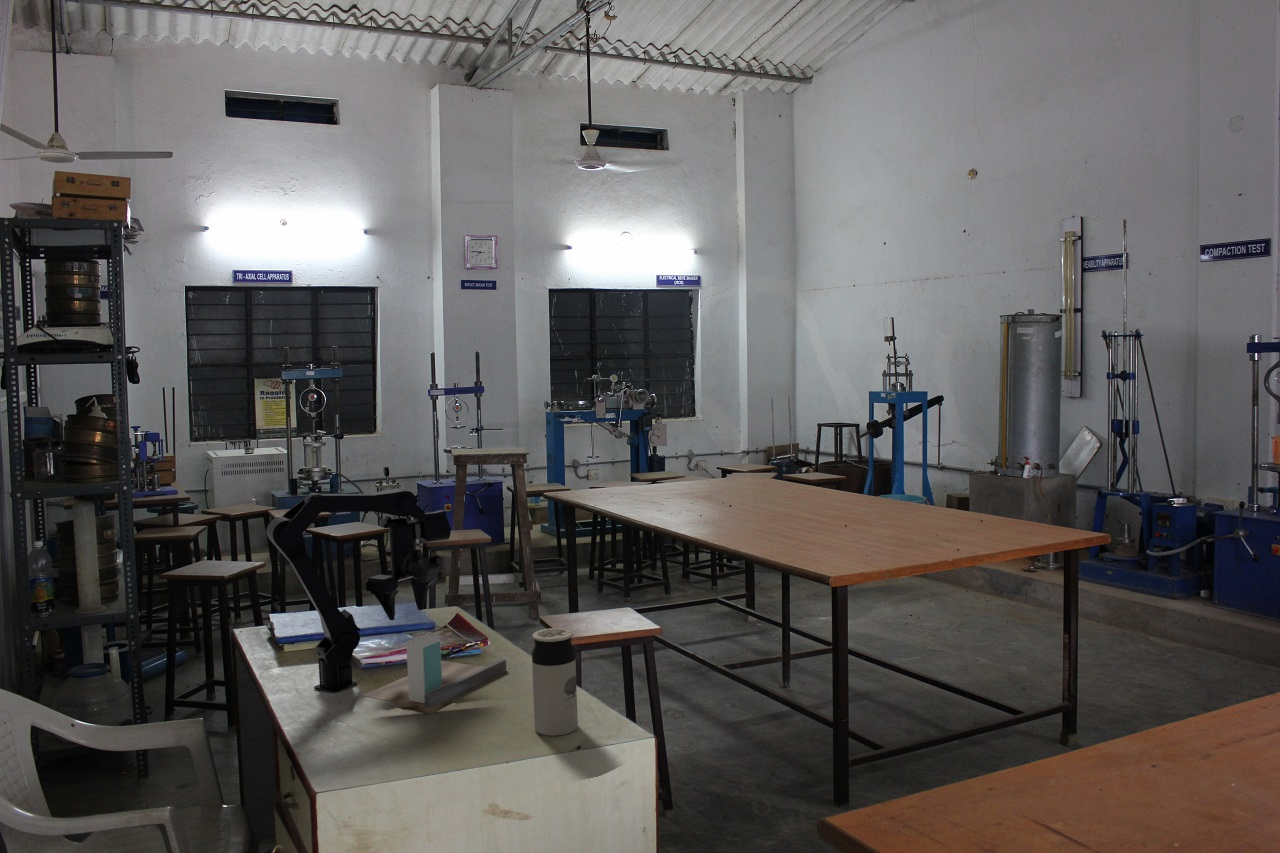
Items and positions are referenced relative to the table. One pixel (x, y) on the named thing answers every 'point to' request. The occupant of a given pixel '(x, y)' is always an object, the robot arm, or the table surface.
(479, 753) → the table surface
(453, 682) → the shelf board
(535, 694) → the travel mug
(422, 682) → the product box
